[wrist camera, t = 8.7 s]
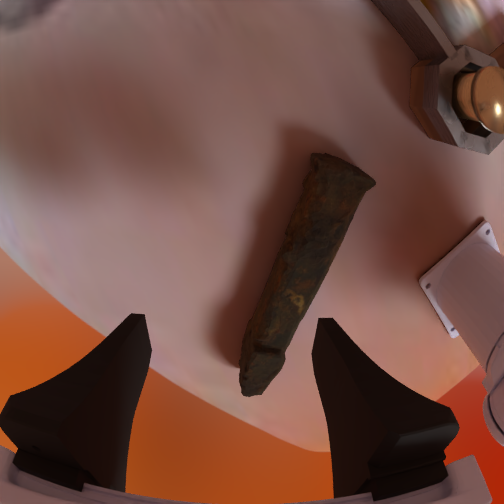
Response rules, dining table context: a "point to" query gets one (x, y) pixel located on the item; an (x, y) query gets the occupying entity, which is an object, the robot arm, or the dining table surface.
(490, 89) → the bronze pin
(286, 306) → the hand tool
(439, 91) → the grey ring with handle
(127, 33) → the dining table surface
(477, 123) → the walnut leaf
